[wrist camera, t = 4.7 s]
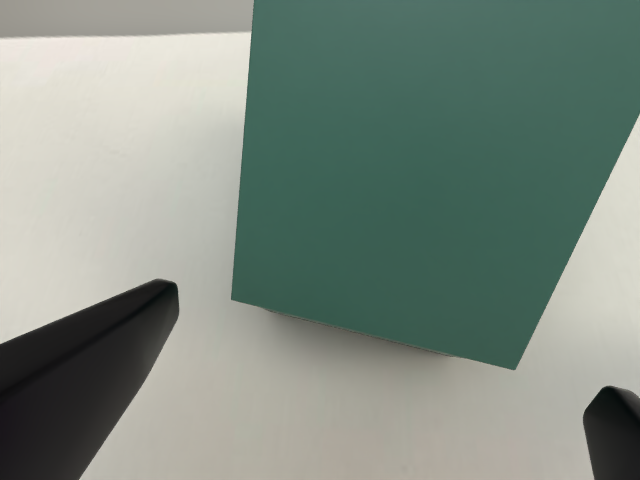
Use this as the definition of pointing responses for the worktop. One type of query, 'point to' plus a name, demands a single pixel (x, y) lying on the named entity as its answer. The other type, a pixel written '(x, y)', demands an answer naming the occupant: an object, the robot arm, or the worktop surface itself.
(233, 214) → the worktop surface
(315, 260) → the lid
